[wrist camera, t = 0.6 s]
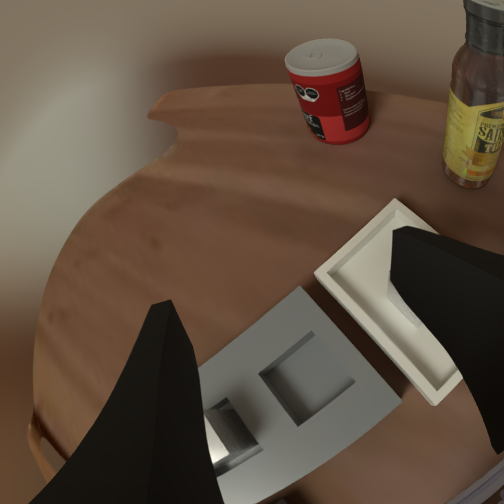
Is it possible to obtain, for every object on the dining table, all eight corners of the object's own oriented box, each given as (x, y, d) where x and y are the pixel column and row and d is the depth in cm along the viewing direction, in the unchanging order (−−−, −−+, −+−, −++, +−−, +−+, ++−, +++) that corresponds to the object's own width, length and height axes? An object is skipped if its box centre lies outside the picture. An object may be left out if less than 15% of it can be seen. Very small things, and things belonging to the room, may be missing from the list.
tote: (508, 315, 21) (516, 308, 19) (431, 405, 20) (435, 405, 19) (394, 209, 29) (394, 197, 28) (317, 280, 29) (313, 272, 28)
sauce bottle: (468, 202, 26) (502, 22, 10) (429, 164, 30) (428, -9, 13) (501, 174, 26) (536, 13, 9) (464, 140, 29) (472, -16, 13)
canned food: (308, 111, 40) (284, 45, 31) (365, 104, 37) (351, 33, 28) (309, 150, 37) (283, 77, 27) (375, 143, 34) (363, 65, 25)
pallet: (399, 400, 22) (402, 401, 20) (233, 512, 21) (220, 520, 19) (305, 294, 29) (299, 285, 27) (165, 405, 29) (149, 404, 27)
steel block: (447, 296, 23) (463, 270, 18) (417, 329, 23) (428, 310, 18) (416, 267, 26) (424, 234, 21) (386, 297, 26) (388, 271, 21)
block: (258, 444, 24) (229, 453, 19) (224, 465, 24) (189, 476, 19) (234, 409, 26) (200, 409, 21) (201, 431, 26) (163, 433, 21)
